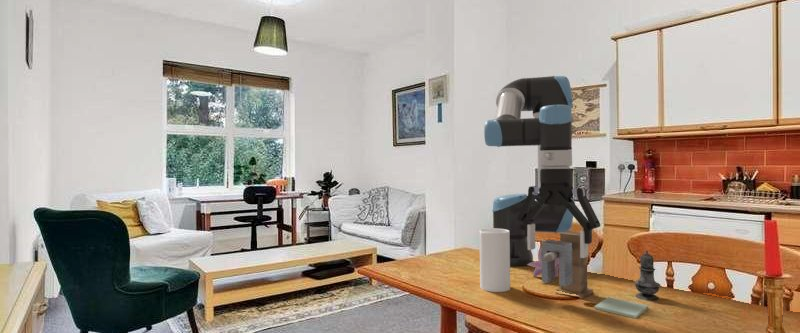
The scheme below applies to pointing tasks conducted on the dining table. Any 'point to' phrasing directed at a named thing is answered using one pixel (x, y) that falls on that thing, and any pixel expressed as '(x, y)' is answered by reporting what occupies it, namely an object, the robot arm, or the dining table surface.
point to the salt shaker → (647, 279)
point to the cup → (495, 260)
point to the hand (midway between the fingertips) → (556, 253)
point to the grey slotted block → (564, 262)
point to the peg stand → (573, 266)
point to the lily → (539, 265)
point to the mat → (621, 307)
